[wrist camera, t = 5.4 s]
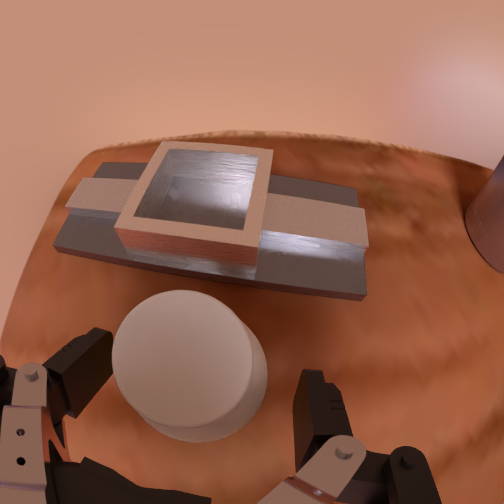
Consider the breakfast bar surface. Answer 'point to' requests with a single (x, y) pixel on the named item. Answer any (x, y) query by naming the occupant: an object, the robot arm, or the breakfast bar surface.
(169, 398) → the supplement bottle
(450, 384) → the breakfast bar surface
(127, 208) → the rail collar
